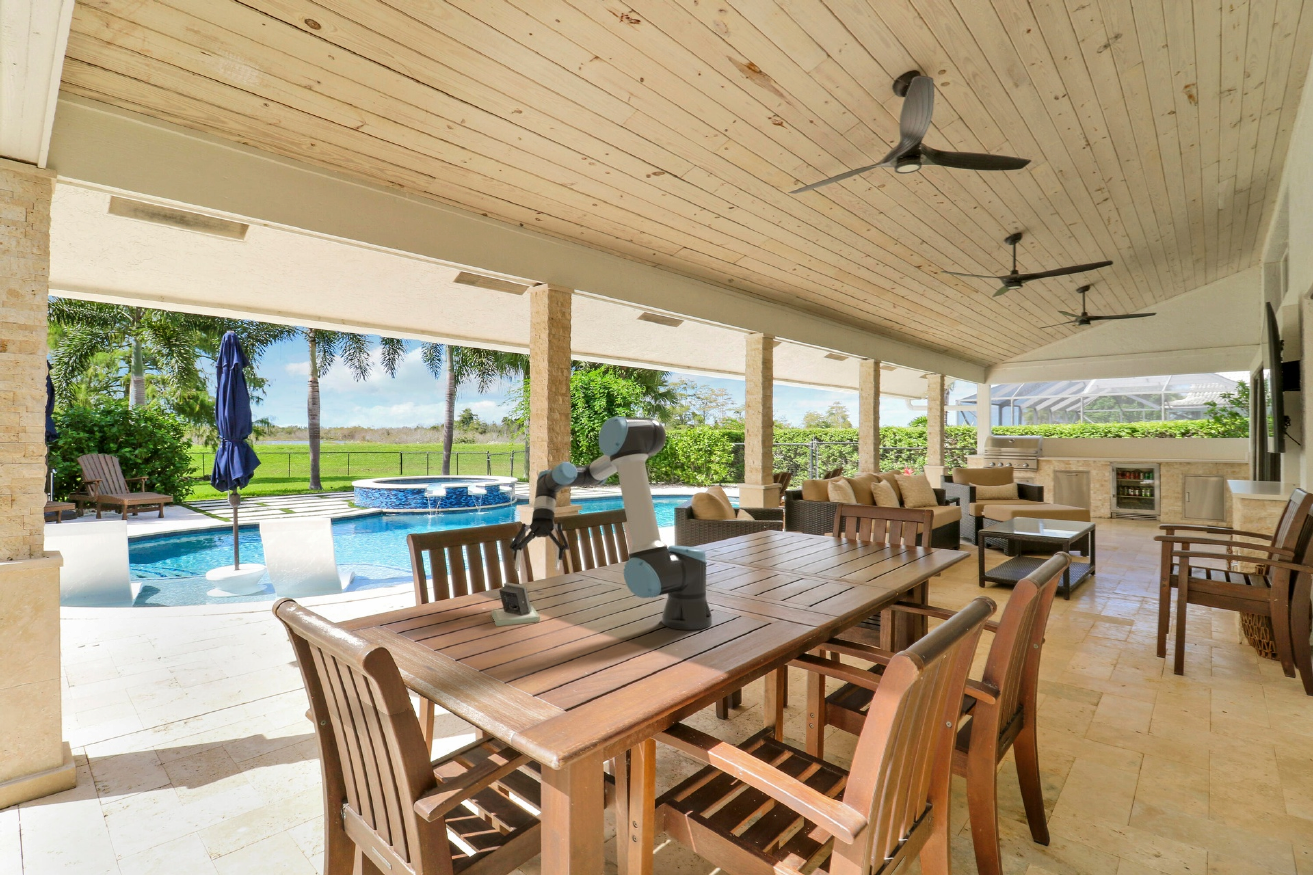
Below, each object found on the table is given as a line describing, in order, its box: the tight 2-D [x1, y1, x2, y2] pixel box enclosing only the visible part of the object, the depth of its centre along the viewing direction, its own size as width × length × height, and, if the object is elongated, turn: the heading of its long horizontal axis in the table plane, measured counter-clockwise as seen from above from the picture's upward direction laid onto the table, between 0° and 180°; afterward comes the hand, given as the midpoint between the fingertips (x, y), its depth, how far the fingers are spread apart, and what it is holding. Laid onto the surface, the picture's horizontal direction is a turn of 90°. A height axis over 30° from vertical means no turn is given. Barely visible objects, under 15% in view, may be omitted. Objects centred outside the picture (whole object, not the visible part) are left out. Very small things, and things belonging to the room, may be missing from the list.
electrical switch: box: [498, 581, 532, 616], centre depth 193 cm, size 9×5×9 cm, turn 56°
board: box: [490, 605, 541, 627], centre depth 194 cm, size 13×13×2 cm
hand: (536, 569), depth 207 cm, fingers open, 13 cm apart
